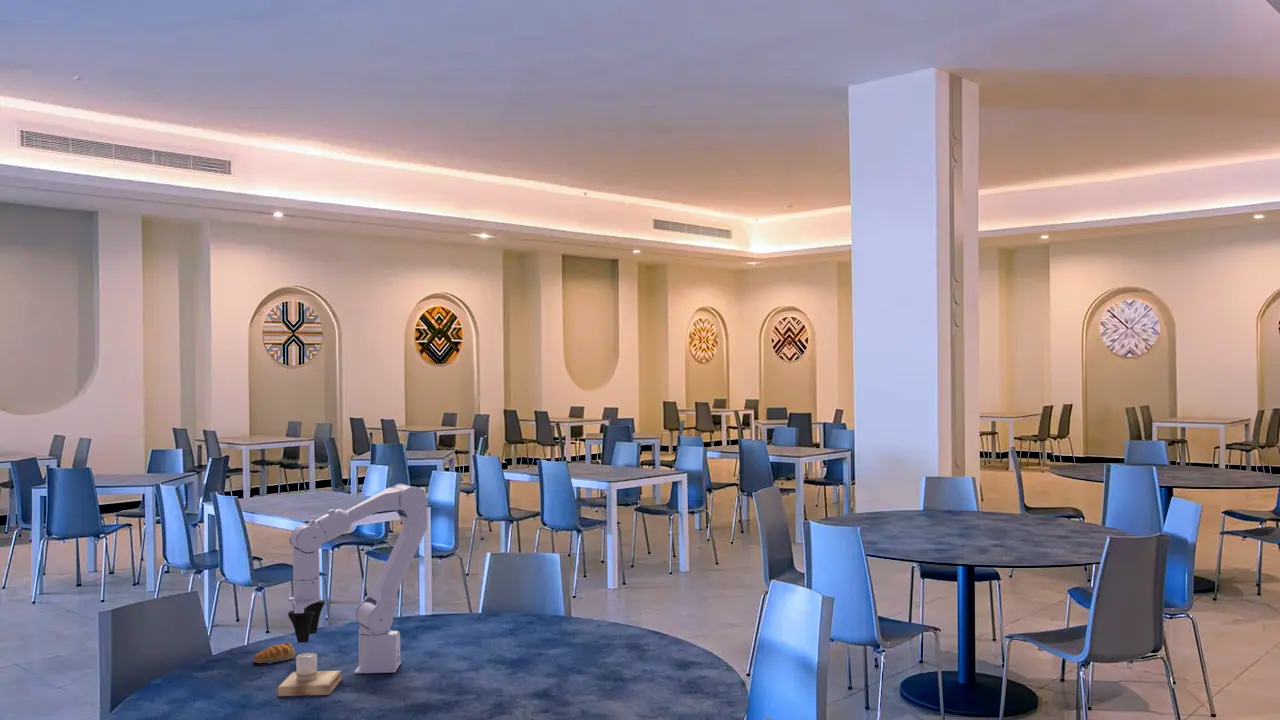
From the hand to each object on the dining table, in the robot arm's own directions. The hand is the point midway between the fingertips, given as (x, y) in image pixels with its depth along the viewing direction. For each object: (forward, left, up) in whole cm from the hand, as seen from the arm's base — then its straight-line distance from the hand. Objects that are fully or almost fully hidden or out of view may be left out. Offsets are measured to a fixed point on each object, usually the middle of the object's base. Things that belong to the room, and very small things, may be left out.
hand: (307, 637), depth 231 cm
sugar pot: (-1, +5, -8) cm, 9 cm away
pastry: (+13, -19, -10) cm, 25 cm away
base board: (-2, +5, -10) cm, 11 cm away
